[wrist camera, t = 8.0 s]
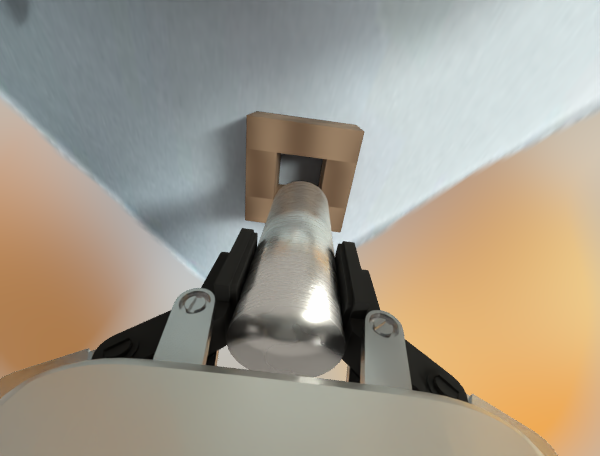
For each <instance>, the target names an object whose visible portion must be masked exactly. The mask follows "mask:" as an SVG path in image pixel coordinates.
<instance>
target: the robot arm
mask: <svg viewBox="0 0 600 456" xmlns="http://www.w3.org/2000/svg"><path fill="white" fill-rule="evenodd" d="M256 249H257V233H254V230H252V229H244V228H242V229H241V231H240V233H239V235H238V237H237V239H236V241H235V243H234V245H233V247H232V249H231V251H230V253H228V252H221V253H220V255H219V257H218V258H217V260H216V262H215V264H214V266H213V267H212V269H211V271H210V273H209V275H208V276H207V278H206V280H205V282H204V284H203V285H202V287H201V288H194V289H191V290H187V291H186V292H184V293H182V294H181V295H180V296H179V297H178V298H177V299H176V301H175V302H174V305H173V308H172V310H171V311H168V312H166V313H164V314H161V315H159V316H157V317H155V318H152V319H150V320H148V321H146V322H143V323H141V324H139V325H137V326H134V327H132V328H130V329H127V330H125V331H123V332H121V333H118V334H116V335H114V336H112V337H110V338H109V339H107V340H106V341H104V342H103V343H102V344H101V345H100V346H99V347H98V348H97V349H96V350H93V351H90V350H89V349H85V350H82V351H79V352H76V353H73V354H69V355H66V356H63V357H60V358H57V359H54V360H51V361H47V362H44V363H41V364H38V365H35V366H32V367H29V368H26V369H23V370H19V371H16V372H14V373H11V374H9V375H6V376H4V377H2V378H1V379H0V456H558V455H557V454H556V452H555V451H554V449H553V448H552V447H551V446H550V445H549V444H548V443H547V441H546V440H545V439H543V438H542V437H540V436H539V435H538V434H537V433H535V432H534V431H532V430H530V429H529V428H527V427H526V426H524V425H522V424H521V423H519V422H518V421H516V420H514V419H513V418H511V417H509V416H508V415H506V414H504V413H503V412H501V411H500V410H498V409H496V408H495V407H493V406H491V405H490V404H488V403H487V402H485V401H483V400H482V399H480V398H478V397H477V396H475V395H474V394H472V395H471V396H469V395H467V394H466V393H465V391H464V389H463V387H462V386H461V385H460V383H459V382H458V381H457V380H456V379H455V378H454V377H453V376H452V375H450V374H449V373H448V372H446V371H445V370H444V369H443V368H441V367H440V366H439V365H437V364H436V363H435V362H433V361H432V360H431V359H430V358H428V357H427V356H426V355H425V354H423V353H422V352H421V351H419V350H418V349H417V348H416V347H414V346H413V345H412V344H410V343H409V342H408V341H407V340H405V339H404V332H403V328H402V325H401V324H400V322H399V321H398V320H397V319H396V318H395V317H394V316H393V315H391V314H389V313H387V312H385V311H381V310H380V308H379V304H378V301H377V297H376V294H375V291H374V287H373V284H372V281H371V277H370V274H369V271H368V270H362V269H361V266H360V262H359V258H358V255H357V251H356V247H355V243H353V242H345V241H343V242H342V244H338V247H337V251H336V255H335V264H336V273H337V281H338V289H339V297H340V305H341V313H342V321H343V330H344V338H345V352H344V355H343V357H342V359H343V361H344V362H345V363H346V364H347V365H348V366H347V377H346V382H345V381H337V380H328V379H321V378H313V377H304V376H296V375H287V374H279V373H270V372H262V371H253V370H244V369H236V368H227V367H218V366H217V359H218V353H219V349H221V348H223V347H224V346H226V345H227V341H226V337H227V332H228V329H229V326H230V323H231V320H232V317H233V314H234V311H235V309H236V306H237V303H238V300H239V297H240V294H241V292H242V289H243V286H244V283H245V280H246V277H247V274H248V272H249V269H250V266H251V263H252V260H253V257H254V255H255V252H256Z"/></svg>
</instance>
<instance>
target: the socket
mask: <svg viewBox="0 0 600 456" xmlns="http://www.w3.org/2000/svg"><path fill="white" fill-rule="evenodd" d="M363 135H364V131H363V130H362V129H360V128H359V127H358V126H357V125H353V124H346V123H338V122H331V121H324V120H317V119H309V118H302V117H295V116H288V115H281V114H273V113H266V112H259V111H256V112H254V113H251V114H249V115H247V130H246V195H245V220H247V221H255V222H262V223H266V220H267V218H268V215H269V212H270V209H271V206H272V203H273V200H274V198H275V195H276V194H277V192H278V191H279V190H280V189H281V188H282V187H283V186H285V185H282V184H278V183H279V171H280V159H281V153H283V154H290V155H298V156H305V157H313V158H320V159H323V161H322V166H321V172H320V178H319V184H318V187H319V188H320V189H321V190H322V191H323V193H324V194H325V196H326V198H327V201H328V207H329V215H330V224H331V231H334V232H341V228H342V224H343V220H344V215H345V211H346V207H347V203H348V198H349V194H350V190H351V186H352V182H353V177H354V173H355V169H356V165H357V161H358V156H359V152H360V148H361V144H362V140H363Z"/></svg>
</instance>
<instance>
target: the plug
mask: <svg viewBox="0 0 600 456" xmlns="http://www.w3.org/2000/svg"><path fill="white" fill-rule="evenodd" d="M226 341H227V346H228V349H229V351H230V353H231V354H232V355H233V357H234V358H235V359H236V360H237V361H238V362H239V363H240V364H241V365H243V366H244V367H246V368H248V369H249V370H253V371H262V372H270V373H279V374H287V375H296V376H304V377H316V376H319V375H322V374H324V373H326V372H328V371H330V370H331V369H333V368H334V367H335V366H336V365H337V364H338V363H339V362H340V360H341V359H342V357H343V355H344V352H345V338H344V330H343V321H342V313H341V305H340V297H339V289H338V281H337V273H336V264H335V256H334V248H333V240H332V232H331V224H330V215H329V207H328V201H327V198H326V196H325V194H324V193H323V191H322V190H321V189H320V188H319V187H317V186H316V185H314V184H312V183H309V182H305V181H295V182H291V183H288V184H286V185H285V186H283V187H282V188H281V189H280V190H279V191H278V192H277V194H276V195H275V198H274V200H273V203H272V206H271V209H270V212H269V215H268V218H267V220H266V223H265V226H264V229H263V232H262V235H261V237H260V240H259V243H258V246H257V249H256V252H255V255H254V257H253V260H252V263H251V266H250V269H249V272H248V274H247V277H246V280H245V283H244V286H243V289H242V292H241V294H240V297H239V300H238V303H237V306H236V309H235V311H234V314H233V317H232V320H231V323H230V326H229V329H228V332H227V337H226Z"/></svg>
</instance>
